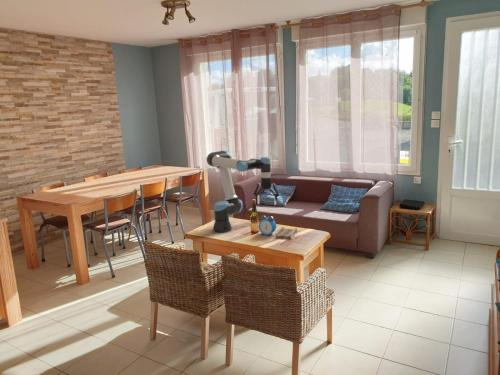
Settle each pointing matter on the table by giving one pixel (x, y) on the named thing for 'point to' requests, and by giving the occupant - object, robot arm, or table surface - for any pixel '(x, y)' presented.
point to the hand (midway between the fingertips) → (266, 204)
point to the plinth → (286, 233)
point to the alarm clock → (267, 225)
